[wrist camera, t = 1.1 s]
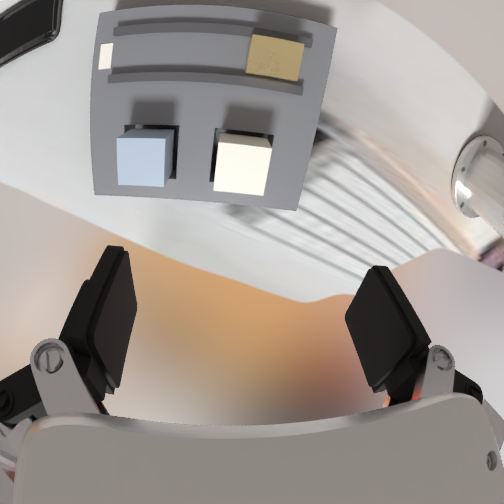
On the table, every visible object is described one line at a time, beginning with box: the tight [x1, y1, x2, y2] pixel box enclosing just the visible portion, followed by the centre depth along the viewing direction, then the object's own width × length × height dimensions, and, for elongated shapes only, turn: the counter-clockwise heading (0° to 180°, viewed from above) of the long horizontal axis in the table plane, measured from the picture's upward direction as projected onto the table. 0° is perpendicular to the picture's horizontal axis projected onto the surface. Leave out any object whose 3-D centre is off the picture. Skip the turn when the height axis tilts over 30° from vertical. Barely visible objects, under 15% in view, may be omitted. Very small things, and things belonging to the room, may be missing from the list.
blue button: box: [117, 129, 174, 187], centre depth 21 cm, size 4×4×4 cm
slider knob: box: [244, 34, 304, 81], centre depth 16 cm, size 4×3×3 cm
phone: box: [0, 0, 63, 68], centre depth 12 cm, size 8×1×15 cm
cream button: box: [213, 133, 272, 196], centre depth 22 cm, size 4×4×4 cm
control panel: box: [90, 5, 337, 211], centre depth 21 cm, size 20×18×4 cm
